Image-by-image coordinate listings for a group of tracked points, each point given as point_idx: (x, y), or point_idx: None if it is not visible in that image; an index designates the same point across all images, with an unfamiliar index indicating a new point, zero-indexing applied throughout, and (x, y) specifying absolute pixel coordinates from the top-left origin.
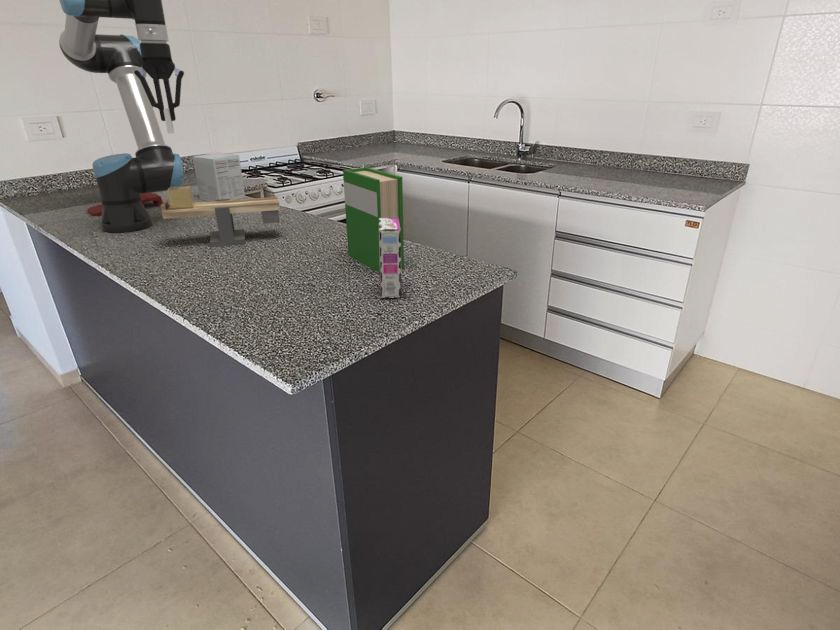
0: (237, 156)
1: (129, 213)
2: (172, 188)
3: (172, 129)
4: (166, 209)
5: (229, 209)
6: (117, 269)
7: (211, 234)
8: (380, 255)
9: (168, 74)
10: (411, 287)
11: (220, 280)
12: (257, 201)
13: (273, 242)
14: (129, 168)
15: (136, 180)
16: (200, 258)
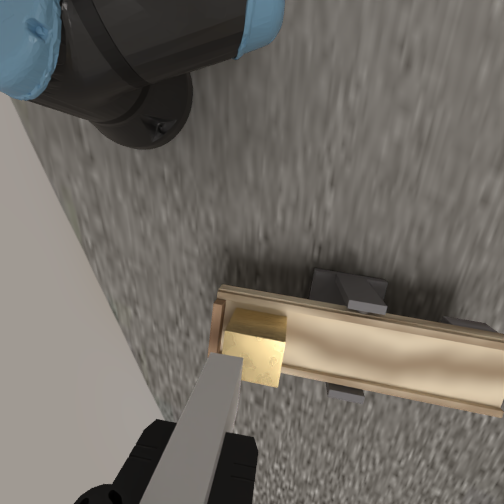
0: None
1: (136, 131)
2: (233, 353)
3: (232, 426)
4: (220, 340)
5: (362, 393)
6: (156, 385)
7: (311, 294)
8: None
9: None
10: None
11: (292, 501)
12: (455, 349)
13: None
14: (77, 66)
15: (120, 90)
16: (276, 396)
